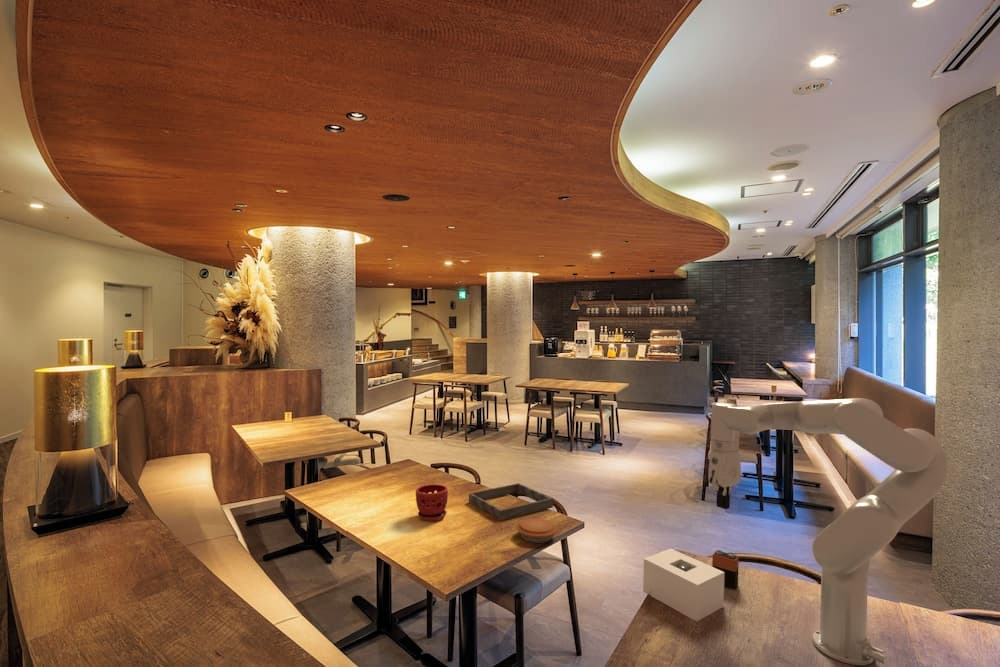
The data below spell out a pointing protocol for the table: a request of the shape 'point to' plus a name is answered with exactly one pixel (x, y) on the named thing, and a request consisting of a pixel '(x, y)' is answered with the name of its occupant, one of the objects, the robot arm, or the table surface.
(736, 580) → the battery
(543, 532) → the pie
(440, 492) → the plant pot
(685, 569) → the peg
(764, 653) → the table surface
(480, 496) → the open rectangular frame
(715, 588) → the socket block
